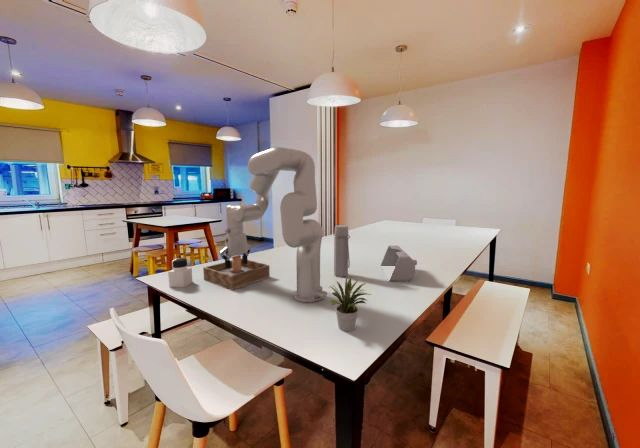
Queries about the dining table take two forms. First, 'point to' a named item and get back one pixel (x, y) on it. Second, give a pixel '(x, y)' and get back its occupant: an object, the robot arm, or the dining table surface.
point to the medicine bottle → (180, 273)
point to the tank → (399, 264)
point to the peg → (236, 264)
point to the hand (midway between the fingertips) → (236, 265)
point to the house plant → (347, 305)
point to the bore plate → (230, 271)
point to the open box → (236, 280)
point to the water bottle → (341, 251)
